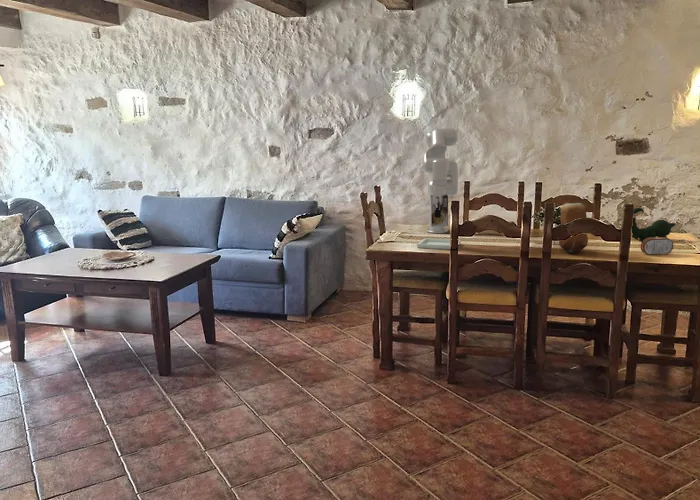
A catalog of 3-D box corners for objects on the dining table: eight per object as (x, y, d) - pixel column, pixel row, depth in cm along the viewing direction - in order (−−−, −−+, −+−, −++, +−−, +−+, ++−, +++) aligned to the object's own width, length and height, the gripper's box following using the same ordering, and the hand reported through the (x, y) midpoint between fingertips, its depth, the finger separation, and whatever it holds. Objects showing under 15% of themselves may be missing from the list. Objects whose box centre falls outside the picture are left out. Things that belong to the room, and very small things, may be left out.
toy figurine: (631, 245, 305) (680, 240, 302) (630, 210, 301) (680, 205, 298) (624, 241, 314) (672, 237, 311) (623, 207, 310) (672, 202, 307)
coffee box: (447, 224, 308) (447, 194, 304) (448, 226, 301) (448, 196, 298) (430, 224, 309) (430, 194, 305) (430, 226, 302) (431, 196, 299)
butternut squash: (566, 248, 293) (569, 200, 288) (592, 252, 283) (595, 202, 278) (552, 253, 284) (555, 203, 279) (578, 257, 274) (581, 205, 269)
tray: (424, 242, 318) (424, 238, 318) (460, 243, 311) (460, 239, 311) (417, 247, 304) (417, 243, 303) (454, 249, 297) (454, 245, 296)
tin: (669, 253, 277) (671, 236, 275) (673, 254, 274) (675, 237, 272) (639, 254, 277) (640, 237, 275) (642, 255, 274) (644, 238, 272)
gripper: (436, 181, 309) (436, 213, 313) (428, 184, 294) (428, 218, 297) (450, 181, 307) (449, 214, 310) (443, 184, 291) (442, 219, 295)
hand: (439, 216), depth 304 cm, fingers closed on coffee box, 7 cm apart
